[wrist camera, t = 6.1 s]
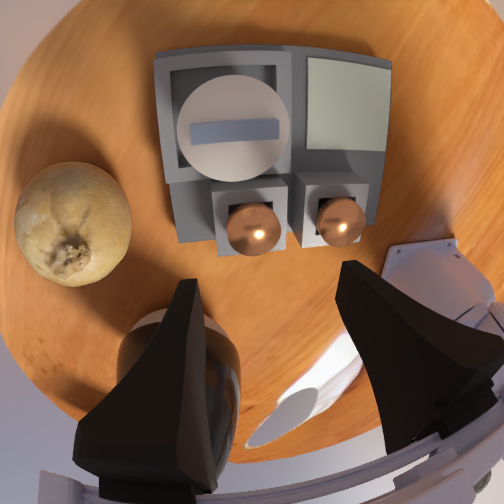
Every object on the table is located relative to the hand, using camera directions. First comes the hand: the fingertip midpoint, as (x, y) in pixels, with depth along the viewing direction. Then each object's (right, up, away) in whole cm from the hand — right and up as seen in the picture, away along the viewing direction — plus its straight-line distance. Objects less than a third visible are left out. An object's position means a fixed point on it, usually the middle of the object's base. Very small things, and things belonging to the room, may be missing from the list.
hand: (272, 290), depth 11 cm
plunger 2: (+4, +4, +6) cm, 9 cm away
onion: (-12, +5, +6) cm, 15 cm away
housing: (+1, +9, +6) cm, 10 cm away
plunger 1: (-1, +4, +6) cm, 7 cm away
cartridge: (-2, +9, +3) cm, 10 cm away
